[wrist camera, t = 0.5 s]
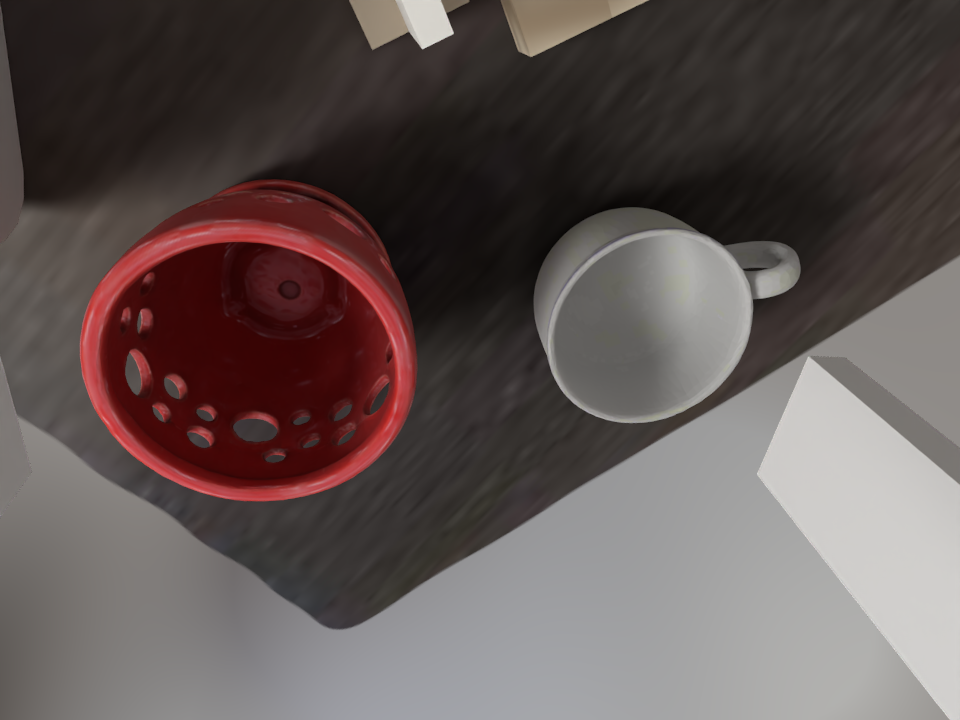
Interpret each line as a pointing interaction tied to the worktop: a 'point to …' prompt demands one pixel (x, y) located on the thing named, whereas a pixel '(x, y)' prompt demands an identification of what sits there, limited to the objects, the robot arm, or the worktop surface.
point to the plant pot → (254, 342)
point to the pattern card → (405, 19)
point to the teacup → (650, 311)
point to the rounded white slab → (8, 149)
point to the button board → (557, 20)
